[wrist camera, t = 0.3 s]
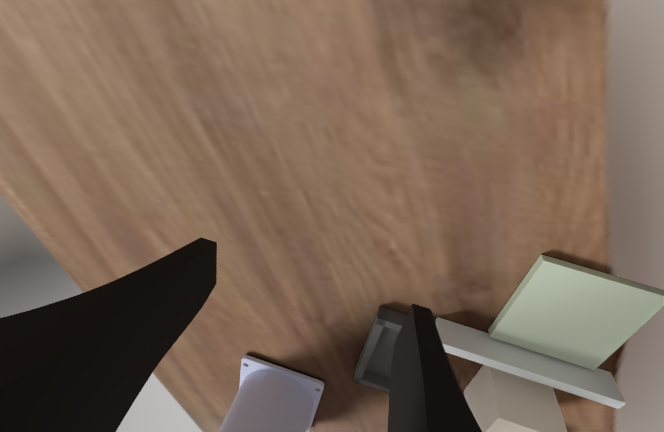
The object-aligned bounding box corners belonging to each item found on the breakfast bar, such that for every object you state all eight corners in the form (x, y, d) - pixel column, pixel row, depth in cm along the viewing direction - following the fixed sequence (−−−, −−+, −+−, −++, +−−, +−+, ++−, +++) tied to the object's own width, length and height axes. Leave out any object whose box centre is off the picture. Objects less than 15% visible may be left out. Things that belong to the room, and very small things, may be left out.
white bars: (538, 436, 29) (545, 465, 27) (397, 388, 30) (395, 413, 28) (610, 372, 23) (626, 403, 22) (437, 316, 25) (437, 341, 23)
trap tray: (400, 383, 29) (399, 396, 28) (354, 368, 30) (352, 380, 29) (433, 323, 25) (433, 336, 24) (379, 306, 25) (377, 318, 24)
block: (519, 408, 28) (533, 471, 24) (463, 389, 28) (469, 449, 24) (549, 377, 25) (570, 442, 21) (488, 357, 26) (498, 417, 22)
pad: (590, 362, 23) (594, 370, 23) (488, 329, 24) (489, 336, 24) (665, 290, 20) (672, 298, 19) (541, 254, 20) (543, 260, 20)
